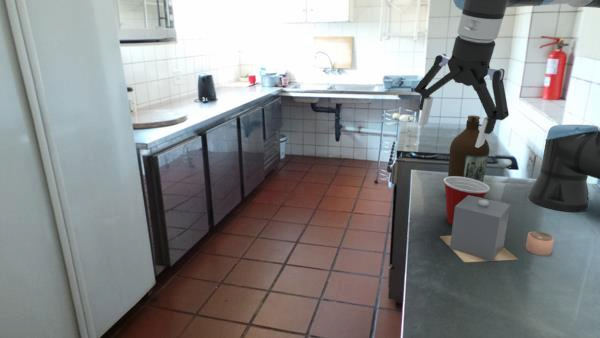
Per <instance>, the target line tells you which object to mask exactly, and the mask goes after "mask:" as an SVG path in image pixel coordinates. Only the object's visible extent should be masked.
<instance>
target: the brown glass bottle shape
mask: <svg viewBox="0 0 600 338" xmlns="http://www.w3.org/2000/svg"><path fill="white" fill-rule="evenodd" d="M480 118H481V117H480V116H479V115H474V114H473V115H468V116H467V120H466V124H465V129H463V131H462V132H460V133H459V134H458V135H456V136H455V137H454V138H453V140H452V142H450V147H449V154H448V155H449V157H448V168H447V169H448V172H447V177H450V176H458V177H466V178H471V179H474V180H477V181H480V182H483V183H484V180H485V179H484V178H485V173H486V169H487V164H488V160H489V156H490V144H489V142H488V140H487V138H485V142H484V144H483V145H482V146H480V147H479V148H477V147H475V145H476V142H477V138H478V135H479V132H480V129H479V128H480Z"/></svg>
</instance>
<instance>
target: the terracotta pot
mask: <svg viewBox="0 0 600 338" xmlns="http://www.w3.org/2000/svg"><path fill="white" fill-rule="evenodd" d="M554 241H555V238H554V236H553V235H551V234H548V233H546V232H543V231H538V230H534V231H529V232H528V233H527V238H526V243H525V250H526V251H527V252H528V253H531V254H534V255H538V256H547V257H548V256H550V255H552V251H553V248H554V247H553V246H554V243H555V242H554Z"/></svg>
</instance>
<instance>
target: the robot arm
mask: <svg viewBox="0 0 600 338" xmlns="http://www.w3.org/2000/svg"><path fill="white" fill-rule="evenodd" d="M452 1H453V3H454V5H455V7H456V8H457V9H459V10H460V11H461V15H460V20H459V23H458V24H459V25H458V26H457V27H458V28H457V30H456V31H457V34H458V35H457V36H456V37H455V40H454V43H453V47H452V51H451V57H448V56H447V54H445V53H440V54H438V55H436V56H435V59H434V62H433V64H432V66H431V67H430V69H429V70H428V72H427V73H426V74H425V75H424V76H423V77H422V79H421V80H420V81H419V83H418V84H416V87H414V92H415V93H418V95H420V102H419V106H418V109H419V110H418V111H421V113H420V119H419V123H418V126H420V127H423V126H425V125H427V124H428V122H429V118H430V114H431V111H432V106H433V102H434V99H435V98H434V96H432V94H433V93H435V92H436V91H437V90H440V89H441V88H443V86H445V85H446V84H448V83H449V82H450V81H452V80H453V81H454V83H457V84H462V85H465V86H467V87H470V86H472V88H473V90H474V91H475V92H476V94H477V96H478V99H479V101H480V103H481V106H482V107H483V110H484V112H485V114H486V116H485V117H483V119H482V123H481V126H480V129H479V131H480V132H479V135H478V138H477V142H476V145H475V147H477V148H479V147H480V146H482V145H483V144H484V142H485V139H487V135H490V134H492V132H494V129H495V126H496V123H497V121H498V120H499V121H503V120H505V119H506V118H508V117H509V116H510V114H509V107H508V101H507V95H506V91H505V84H504V77H505V71H506V70H505V69H504V68H500V69H499V68H498V69H495V68H491V66H490V63H491V61H492V56H493V53H494V50H495V46H496V42H495V40H497V39H498V38H499V37H498V36H499V33H500V30H501V26H502V23H503V19H504V17H505V13H506V10H507V8H521V7H522V8H523V7H537V6H538V7H540V6H549V5H552V6H553V5H566V4H567V6H570V7H572V8H598V9H600V0H452ZM446 65H447V66H448V70H449V72H448V73H446V74H445V75H443V76H442V77H441V78H440V79H439V80H437V81H436V82H435V83H433V84H432V85H430V86H429V84H430V83H431V82H432V81H433V79H434V78H435V77H436V76H437V75H438V73H439V72H440V71H441V69H442V68H443V67H444V66H446ZM487 76H489V79H490V81H491V85H492V92H493V97H492V96H491V93H490V91H489V89H488V87H487V86H488V85H487V81H486V79H485V77H487ZM428 86H429V87H428ZM427 87H428V88H427ZM493 98H494V100H493ZM540 166H541V167H540V170H539V171H540V172H539V174H538V177H537V178H536V179H535V181H534V183H533V185H532V187H530V189H529V194H528V199H529V200H530V201H531V202H533V203H535V204H536V205H538V206H540V207H545V208H548V209H551V210H554V211H555V210H557V211H564V212H573V213H574V212H575V213H576V212H577V213H578V212H584V211H586V210H587V209H589V205H590V201H591V200H590V197H589V189H588V188H589V187H588V181H587V180H588V177H591V178H594V179H597V180H600V127H599V126H597V125H591V124H558V125H557V124H556V125H553V126H551V127H550V128H549V129H548V133H547V135H546V138H545V143H544V149H543V154H542V161H541V165H540Z"/></svg>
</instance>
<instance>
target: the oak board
mask: <svg viewBox="0 0 600 338" xmlns="http://www.w3.org/2000/svg"><path fill="white" fill-rule="evenodd" d="M439 238H440V239H441V240H442V241H443V242H444V243H445V244H446V245H447V246H448V247H449V248H450V241H451V235H439ZM451 250H452V251H453V252H454V253H455V254H456V255H457V256H458V257H459V258H460V259H461V261H462V262H463V263H479V262H481V263H482V262H490V261H489V260H486V259H482V258H479V257H476V256H473V255H469V254H466V253H463V252H460V251H456V250H453V249H451ZM517 260H518V261H519V258H517V257H516V256H515V255H514V254H513V253H511V251H509V250H508V249H507V248H506V247H504V246H503V247H502V249H501V250H500V252H499V253H498V255H497V256H496V257H495V259H494V260H493V262H498V261H499V262H500V261H517Z"/></svg>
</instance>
